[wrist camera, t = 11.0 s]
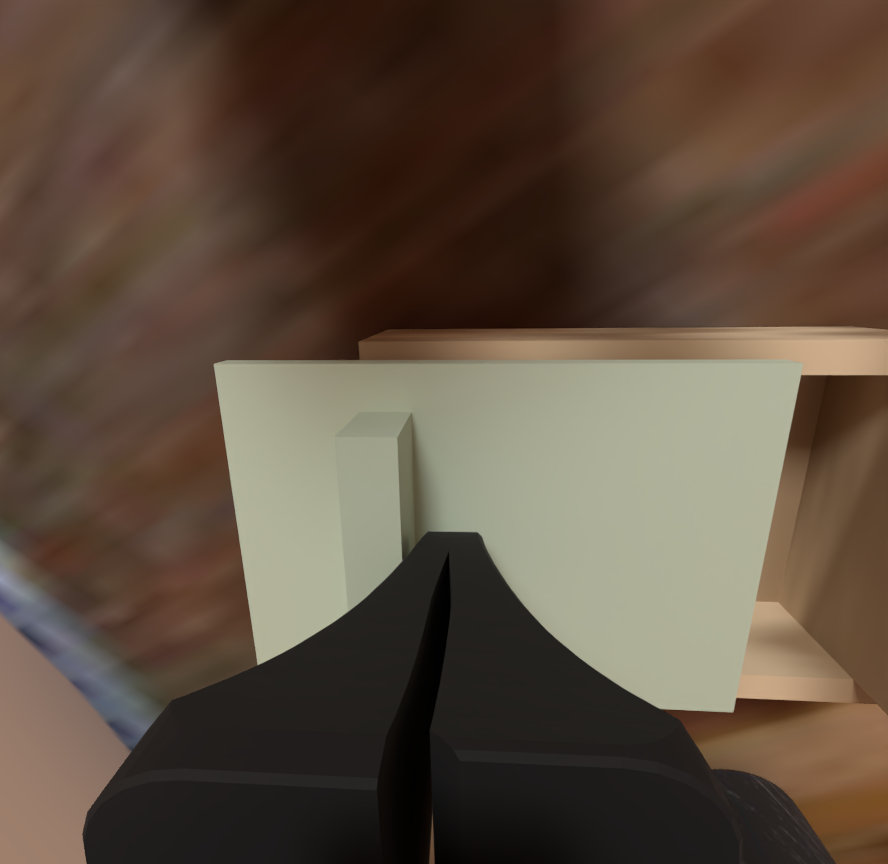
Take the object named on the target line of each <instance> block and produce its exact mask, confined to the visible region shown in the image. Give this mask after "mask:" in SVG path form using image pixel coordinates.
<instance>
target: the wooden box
mask: <svg viewBox="0 0 888 864" xmlns="http://www.w3.org/2000/svg"><path fill="white" fill-rule="evenodd" d="M359 358H360V360H736V359H786V360H791V361H795V362H800V363H803V368H802V373H801V378H800V383H799V388H798V393H797V398H796V403H795V408H794V413H793V418H792V423H791V428H790V433H789V438H788V443H787V448H786V453H785V458H784V462H783V467H782V472H781V477H780V482H779V487H778V492H777V497H776V502H775V507H774V512H773V517H772V522H771V527H770V532H769V537H768V542H767V547H766V552H765V557H764V562H763V567H762V572H761V577H760V582H759V587H758V592H757V597H756V602H755V607H754V612H753V617H752V622H751V627H750V632H749V637H748V642H747V646H746V651H745V656H744V661H743V666H742V671H741V676H740V681H739V686H738V691H737V696H736V698H753V699H775V700H797V701H819V702H841V703H864V704H878V705H879V706H880V707H881V709H882V710H883V711H884V712H885V713H886V714H887V715H888V330H884V329H873V328H861V327H697V328H533V329H388V330H386V331H383V332H381V333H378V334H376V335H374V336H371V337H369V338H366V339H364V340H361V341H359Z"/></svg>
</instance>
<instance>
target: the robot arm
mask: <svg viewBox="0 0 888 864" xmlns="http://www.w3.org/2000/svg"><path fill="white" fill-rule="evenodd" d="M432 815H433V834H434V861H435V864H742V850H743V836H742V833H741V831H740V828H739V825H738V823H737V820H736V817H735V815H734V812H733V810H732V808H731V806H730V804H729V802H728V800H727V798H726V796H725V794H724V792H723V790H722V788H721V786H720V784H719V782H718V780H717V778H716V777H715V775H714V773H713V772H712V770H711V768H710V767H709V765H708V763H707V762H706V760H705V759H704V757H703V755H702V754H701V752H700V751H699V749H698V747H697V746H696V744H695V743H694V741H693V740H692V738H691V737H690V735H689V734H688V732H687V730H686V729H685V727H684V726H683V724H682V723H681V721H680V720H679V719H677V718H675V717H673V716H672V715H670V714H668V713H666V712H664V711H663V710H661V709H659V708H657V707H656V706H654V705H652V704H650V703H648V702H647V701H645V700H643V699H641V698H640V697H638V696H636V695H634V694H632V693H631V692H629V691H627V690H625V689H624V688H622V687H621V686H619V685H618V684H616V683H615V682H613V681H612V680H610V679H609V678H607V677H606V676H604V675H603V674H601V673H600V672H598V671H597V670H595V669H594V668H592V667H591V666H590V665H588V664H587V663H586V662H584V661H583V660H582V659H580V658H579V657H578V656H576V655H575V654H574V653H573V652H572V651H570V650H569V649H568V648H567V647H566V646H564V645H563V644H562V643H561V642H559V641H558V640H557V639H556V638H555V637H554V636H553V635H552V634H550V633H549V632H548V631H547V630H546V629H545V628H544V627H543V626H542V625H541V624H540V622H539V621H538V620H537V619H536V618H535V617H534V616H533V615H532V614H531V613H530V612H529V611H528V609H527V608H526V607H525V606H524V605H523V603H522V602H521V601H520V600H519V598H518V597H517V596H516V595H515V593H514V592H513V591H512V589H511V588H510V587H509V585H508V584H507V582H506V581H505V579H504V578H503V576H502V575H501V573H500V572H499V570H498V569H497V567H496V565H495V564H494V562H493V560H492V558H491V556H490V555H489V553H488V551H487V549H486V546H485V544H484V541H483V538H482V536H481V535H480V534H479V533H478V532H432V531H428V532H427V533H426V534H425V535H424V536H423V537H422V538H421V539H420V541H419V542H418V543H417V544H416V546H415V547H414V548H413V549H412V551H411V552H410V553H409V554H408V555H407V556H406V558H405V559H404V560H403V561H402V562H401V563H400V564H399V565H398V566H397V567H396V568H395V570H394V571H393V572H392V573H391V574H390V575H389V576H388V577H387V578H386V579H385V580H384V581H383V582H382V583H381V584H380V585H379V586H378V587H376V588H375V589H374V590H373V591H372V592H371V593H370V594H369V595H368V596H367V597H366V598H365V599H364V600H362V601H361V602H360V603H359V604H357V605H356V606H355V607H354V608H352V609H351V610H350V611H348V612H347V613H346V614H344V615H343V616H342V617H340V618H339V619H337V620H336V621H335V622H333V623H332V624H330V625H328V626H327V627H325V628H324V629H322V630H320V631H319V632H317V633H316V634H314V635H312V636H311V637H309V638H307V639H306V640H304V641H303V642H301V643H299V644H298V645H296V646H294V647H292V648H291V649H289V650H287V651H285V652H283V653H281V654H279V655H277V656H275V657H274V658H272V659H270V660H268V661H265V662H263V663H261V664H259V665H257V666H255V667H253V668H251V669H249V670H247V671H244V672H242V673H240V674H238V675H235V676H233V677H231V678H228V679H226V680H223V681H221V682H218V683H216V684H213V685H211V686H208V687H206V688H203V689H201V690H198V691H196V692H193V693H191V694H188V695H186V696H183V697H180V698H177V699H174V700H172V701H171V702H170V703H169V705H168V706H167V707H166V708H165V709H164V711H163V712H162V713H161V714H160V715H159V717H158V718H157V719H156V720H155V722H154V723H153V724H152V725H151V726H150V728H149V729H148V730H147V732H146V733H145V734H144V736H143V737H142V738H141V740H140V741H139V742H138V744H137V745H136V746H135V748H134V749H133V750H132V752H131V753H130V755H129V756H128V757H127V759H126V760H125V761H124V763H123V764H122V765H121V767H120V768H119V769H118V771H117V772H116V774H115V775H114V776H113V778H112V779H111V780H110V782H109V783H108V784H107V786H106V787H105V788H104V790H103V791H102V793H101V794H100V796H99V797H98V798H97V800H96V801H95V802H94V804H93V805H92V807H91V808H90V809H89V811H88V812H87V816H86V821H85V825H84V829H83V841H84V849H85V855H86V862H87V864H429V860H430V845H431V830H432Z"/></svg>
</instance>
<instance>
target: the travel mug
mask: <svg viewBox="0 0 888 864" xmlns="http://www.w3.org/2000/svg"><path fill="white" fill-rule="evenodd" d="M712 772H713V773H714V775H715V777H716V778H717V780H718V782H719V784H720V786H721V788H722V790H723V792H724V794H725V796H726V798H727V800H728V802H729V804H730V806H731V808H732V810H733V812H734V815H735V817H736V820H737V823H738V825H739V828H740V831H741V833H742V836H743V850H742V864H836V863H835V862H834V860H833V859H832V857H831V855H830V854H829V852H828V851H827V849H826V848H825V846H824V845H823V844H822V842H821V841H820V839H819V838H818V836H817V835H816V833H815V832H814V830H813V829H812V827H811V826H810V824H809V823H808V821H807V820H806V818H805V817H804V816H803V814H802V813H801V811H800V810H799V809H798V807H797V806H796V804H795V803H794V802H793V800H792V799H791V798H790V797H789V796H788V795H787V794H786V793H785V792H784V791H783V790H781V789H780V788H779V787H777V786H776V785H775V784H773V783H771V782H769V781H767V780H766V779H763V778H761V777H758V776H756V775H752V774H749V773H745V772H740V771H734V770H712Z"/></svg>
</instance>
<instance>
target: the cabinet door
mask: <svg viewBox="0 0 888 864" xmlns="http://www.w3.org/2000/svg"><path fill="white" fill-rule="evenodd" d="M802 368H803V363H800V362H795V361H791V360H786V359H736V360H226V361H223V362H219V363H215V364H214V369H215V376H216V383H217V390H218V396H219V403H220V410H221V417H222V424H223V431H224V437H225V444H226V451H227V458H228V465H229V471H230V478H231V485H232V492H233V499H234V506H235V512H236V519H237V526H238V533H239V540H240V547H241V553H242V560H243V567H244V574H245V581H246V588H247V594H248V601H249V608H250V615H251V622H252V628H253V635H254V642H255V649H256V656H257V663H258V665H259V664H261V663H263V662H265V661H268V660H270V659H272V658H274V657H275V656H277V655H279V654H281V653H283V652H285V651H287V650H289V649H291V648H292V647H294V646H296V645H298V644H299V643H301V642H303V641H304V640H306V639H307V638H309V637H311V636H312V635H314V634H316V633H317V632H319V631H320V630H322V629H324V628H325V627H327V626H328V625H330V624H332V623H333V622H335V621H336V620H337V619H339V618H340V617H342V616H343V615H344V614H346V613H347V612H348V611H350V610H351V609H352V608H354V607H355V606H356V605H357V604H359V603H360V602H361V601H362V600H364V599H365V598H366V597H367V596H368V595H369V594H370V593H371V592H372V591H373V590H374V589H375V588H376V587H378V586H379V585H380V584H381V583H382V582H383V581H384V580H385V579H386V578H387V577H388V576H389V575H390V574H391V573H392V572H393V571H394V570H395V568H396V567H397V566H398V565H399V564H400V563H401V562H402V561H403V560H404V559H405V558H406V556H407V555H408V554H409V553H410V552H411V551H412V549H413V548H414V547H415V546H416V544H417V543H418V542H419V541H420V539H421V538H422V537H423V536H424V535H425V534H426V533H427V532H428V531H432V532H478V533H479V534H480V535H481V536H482V538H483V541H484V544H485V546H486V549H487V551H488V553H489V555H490V556H491V558H492V560H493V562H494V564H495V565H496V567H497V569H498V570H499V572H500V573H501V575H502V576H503V578H504V579H505V581H506V582H507V584H508V585H509V587H510V588H511V589H512V591H513V592H514V593H515V595H516V596H517V597H518V598H519V600H520V601H521V602H522V603H523V605H524V606H525V607H526V608H527V609H528V611H529V612H530V613H531V614H532V615H533V616H534V617H535V618H536V619H537V620H538V621H539V622H540V624H541V625H542V626H543V627H544V628H545V629H546V630H547V631H548V632H549V633H550V634H552V635H553V636H554V637H555V638H556V639H557V640H558V641H559V642H561V643H562V644H563V645H564V646H566V647H567V648H568V649H569V650H570V651H572V652H573V653H574V654H575V655H576V656H578V657H579V658H580V659H582V660H583V661H584V662H586V663H587V664H588V665H590V666H591V667H592V668H594V669H595V670H597V671H598V672H600V673H601V674H603V675H604V676H606V677H607V678H609V679H610V680H612V681H613V682H615V683H616V684H618V685H619V686H621V687H622V688H624V689H625V690H627V691H629V692H631V693H632V694H634V695H636V696H638V697H640V698H641V699H643V700H645V701H647V702H648V703H650V704H652V705H654V706H656V707H657V708H659V709H672V710H693V711H714V712H733V711H734V706H735V701H736V696H737V691H738V686H739V681H740V676H741V671H742V666H743V661H744V656H745V651H746V646H747V642H748V637H749V632H750V627H751V622H752V617H753V612H754V607H755V602H756V597H757V592H758V587H759V582H760V577H761V572H762V567H763V562H764V557H765V552H766V547H767V542H768V537H769V532H770V527H771V522H772V517H773V512H774V507H775V502H776V497H777V492H778V487H779V482H780V477H781V472H782V467H783V462H784V458H785V453H786V448H787V443H788V438H789V433H790V428H791V423H792V418H793V413H794V408H795V403H796V398H797V393H798V388H799V383H800V378H801V373H802Z"/></svg>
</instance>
